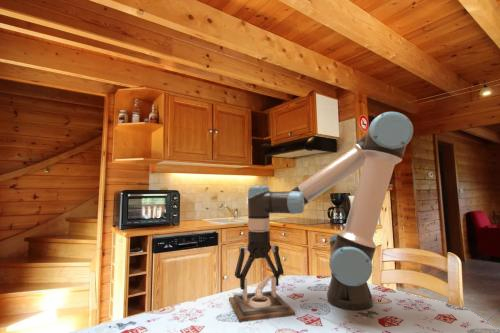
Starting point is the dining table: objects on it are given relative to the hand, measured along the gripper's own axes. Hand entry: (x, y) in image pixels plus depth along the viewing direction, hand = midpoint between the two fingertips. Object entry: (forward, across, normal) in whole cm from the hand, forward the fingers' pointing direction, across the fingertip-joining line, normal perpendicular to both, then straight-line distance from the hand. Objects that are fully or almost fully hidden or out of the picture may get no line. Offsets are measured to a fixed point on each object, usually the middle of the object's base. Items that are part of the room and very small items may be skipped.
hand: (259, 297), depth 92 cm
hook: (+2, 0, 0) cm, 2 cm away
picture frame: (+3, 0, 0) cm, 3 cm away
